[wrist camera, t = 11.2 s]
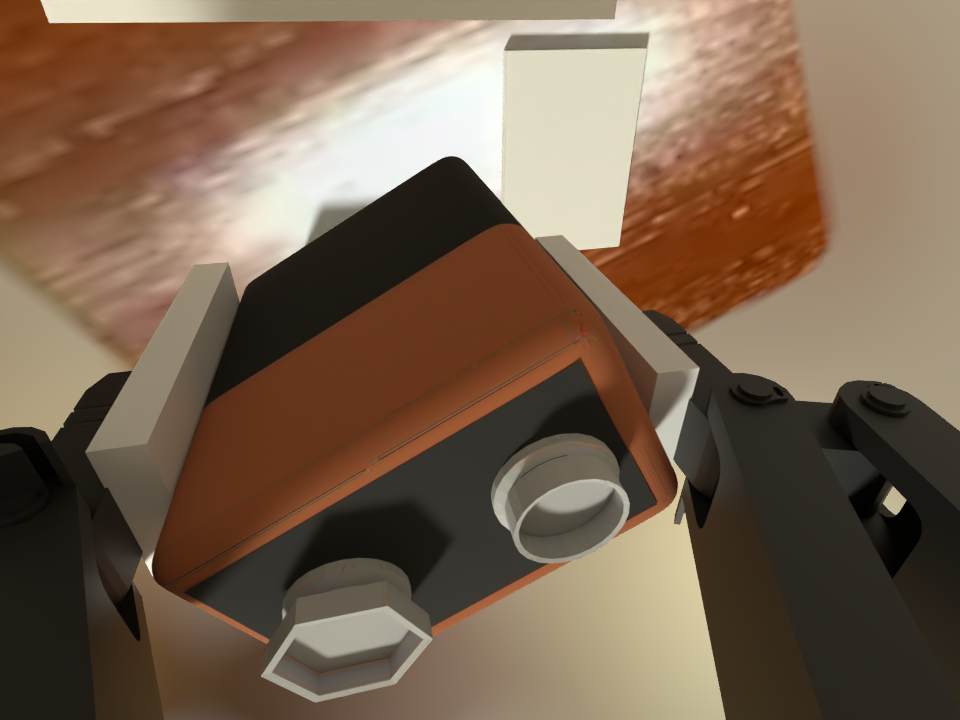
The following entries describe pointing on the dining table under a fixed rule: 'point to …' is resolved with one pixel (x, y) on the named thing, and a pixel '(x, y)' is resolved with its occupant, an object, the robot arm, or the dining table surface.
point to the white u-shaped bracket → (321, 10)
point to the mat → (570, 140)
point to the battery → (404, 439)
